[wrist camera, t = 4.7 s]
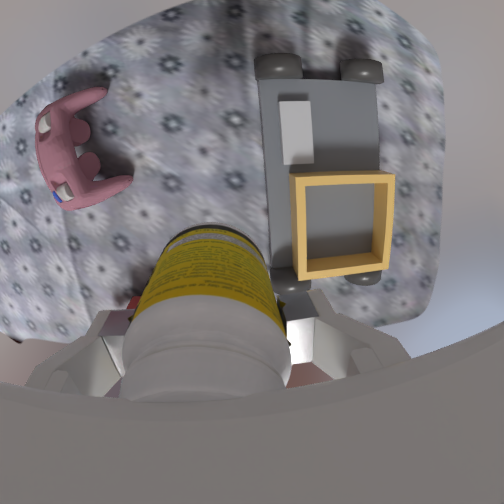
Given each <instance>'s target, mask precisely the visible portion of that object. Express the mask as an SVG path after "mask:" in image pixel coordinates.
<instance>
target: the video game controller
mask: <svg viewBox="0 0 504 504" xmlns="http://www.w3.org/2000/svg"><path fill="white" fill-rule="evenodd" d="M106 94H107V89H106V88H104V87H92V88H88V89H85V90H82V91H79V92H76V93H73V94H70V95H68V96H65V97H63V98H61V99H59V100H57V101H55V102H53V103H51V104H49V105H47V106H46V107H45V108H44V109H43V110H42V112H41V113H40V114H39V115H38V117H37V119H36V123H35V130H36V134H35V148H36V155H37V160H38V164H39V167H40V170H41V173H42V175H43V177H44V179H45V182H46V184H47V185H48V187H49V189H50V190H51V192H52V193H53V195H54V199H55V201H56V203H57V204H58V205H59V206H60V207H61V208H63V209H64V210H67V211H71V210H76V209H81V208H85V207H89V206H92V205H95V204H97V203H100V202H102V201H104V200H106V199H108V198H109V197H111V196H113V195H115V194H117V193H118V192H120V191H122V190H124V189H125V188H127V187H128V186H129V185H130V184H131V183H132V181H133V177H132V176H130V175H120V176H116V177H112V178H109V179H105V180H101V181H93V179H94V177H95V176H96V175H97V173H98V172H99V170H100V161H99V158H98V157H97V156H96V154H94V153H92V152H86V153H84V154H83V155H81V156H80V157H78V158H77V155H76V152H75V148H74V146H79V145H81V144H83V143H85V142H86V141H87V140H88V139H89V137H90V127H89V125H88V123H87V122H86V121H83V120H81V119H77V118H75V117H74V115H75V114H76V113H77V112H79V111H80V110H81V109H83V108H85V107H87V106H89V105H91V104H93V103H95V102H97V101H99V100H100V99H102V98H103V97H104V96H105V95H106Z"/></svg>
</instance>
